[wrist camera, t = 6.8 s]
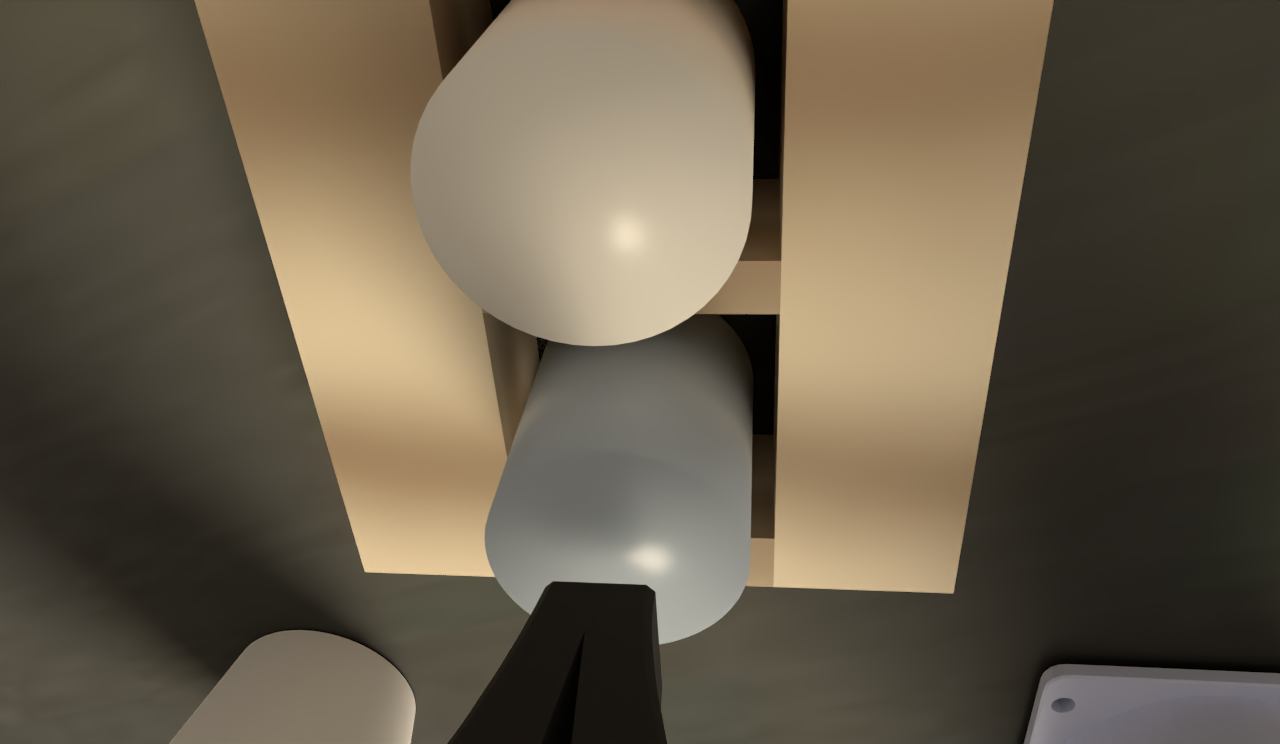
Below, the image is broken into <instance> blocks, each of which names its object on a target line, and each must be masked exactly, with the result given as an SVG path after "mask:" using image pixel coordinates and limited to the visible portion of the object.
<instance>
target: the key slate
mask: <svg viewBox="0 0 1280 744" xmlns="http://www.w3.org/2000/svg"><path fill="white" fill-rule="evenodd" d="M752 435H753V370H752V366H751V362H750V358H749V355H748V353H747V350H746V348H745V346H744V344H743V343H742V341H741V339H740V338H739V336H738V335H737V333H736V332H735V331H734V330H733V328H732V327H731V326H730V325H729V324H728V323H727V322H726V321H725V320H724V319H723V318H722V317H721V316H719V315H718V314H694V315H692V316H691V317H690V318H688V319H687V320H685V321H683V322H682V323H680V324H678V325H676V326H675V327H673V328H671V329H669V330H667V331H664V332H662V333H660V334H657V335H655V336H653V337H649V338H646V339H642V340H639V341H635V342H630V343H624V344H618V345H608V346H583V345H571V344H565V343H560V342H554V341H550V340H548V342H547V344H546V347H545V350H544V353H543V356H542V359H541V361H540V364H539V367H538V370H537V373H536V376H535V379H534V382H533V385H532V388H531V391H530V394H529V397H528V400H527V403H526V406H525V408H524V411H523V414H522V417H521V420H520V423H519V426H518V429H517V432H516V435H515V438H514V441H513V444H512V447H511V450H510V452H509V455H508V458H507V461H506V464H505V467H504V470H503V473H502V476H501V479H500V482H499V485H498V488H497V491H496V494H495V496H494V499H493V502H492V505H491V508H490V511H489V514H488V518H487V522H486V526H485V538H484V540H485V549H486V554H487V558H488V561H489V565H490V567H491V569H492V571H493V573H494V575H495V577H496V579H497V580H498V582H499V583H500V585H501V586H502V588H503V589H504V590H505V591H506V593H507V594H508V595H509V596H510V597H511V599H513V600H514V601H515V602H516V603H517V604H518V605H519V606H520V607H521V608H522V609H524V610H525V611H526V612H528V613H529V614H530V615H531V613H532V611H533V610H534V608H535V606H536V604H537V602H538V600H539V598H540V596H541V594H542V592H543V590H544V589H545V587H546V586H547V585H549V584H550V583H551V582H552V581H562V582H588V583H613V584H639V585H647V586H649V587H650V588H651V589H652V590H654V591H655V593H656V607H657V622H658V636H659V644H663V643H668V642H673V641H676V640H680V639H683V638H686V637H689V636H691V635H694V634H696V633H698V632H700V631H702V630H704V629H706V628H708V627H709V626H711V625H713V624H714V623H715V622H717V621H718V620H719V619H721V618H722V617H723V616H724V615H725V614H726V613H727V612H728V611H729V610H730V609H731V608H732V607H733V606H734V604H735V603H736V602H737V600H738V599H739V597H740V596H741V594H742V592H743V590H744V588H745V586H746V582H747V579H748V575H749V569H750V548H751V491H752Z"/></svg>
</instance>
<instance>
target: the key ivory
mask: <svg viewBox="0 0 1280 744" xmlns="http://www.w3.org/2000/svg"><path fill="white" fill-rule="evenodd" d="M755 79H756V70H755V55H754V50H753V45H752V40H751V36H750V33H749V30H748V27H747V24H746V22H745V19H744V17H743V15H742V13H741V11H740V9H739V7H738V5H737V4H736V2H735V1H734V0H511V1H510V2H509V4H508V5H507V6H506V7H505V8H504V10H503V11H502V12H501V13H500V14H499V15H498V17H497V18H496V19H495V20H494V21H493V22H492V24H491V25H490V26H489V27H488V28H487V30H486V31H485V32H484V33H483V34H482V35H481V37H480V38H479V39H478V40H477V41H476V42H475V44H474V45H473V46H472V47H471V48H470V50H469V51H468V52H467V53H466V54H465V55H464V57H463V58H462V59H461V60H460V61H459V62H458V64H457V65H456V66H455V67H454V68H453V70H452V71H451V72H450V73H449V74H448V75H447V77H446V78H445V79H444V80H443V81H442V82H441V84H440V85H439V87H438V88H437V90H436V91H435V93H434V94H433V96H432V97H431V99H430V100H429V102H428V104H427V106H426V108H425V110H424V112H423V114H422V117H421V119H420V121H419V124H418V128H417V131H416V134H415V138H414V141H413V148H412V155H411V164H410V183H411V190H412V198H413V204H414V208H415V212H416V215H417V219H418V223H419V225H420V228H421V230H422V232H423V235H424V237H425V240H426V242H427V244H428V246H429V247H430V249H431V251H432V253H433V255H434V256H435V258H436V260H437V261H438V263H439V264H440V265H441V267H442V268H443V270H444V271H445V272H446V274H447V275H448V276H449V278H450V279H451V280H452V281H453V282H454V283H455V284H456V285H457V286H458V287H459V288H460V290H461V291H462V292H463V293H464V294H466V295H467V296H468V297H469V298H470V299H471V300H472V301H474V302H475V303H476V304H477V305H478V306H479V307H481V308H482V309H484V310H485V311H487V312H488V313H490V314H491V315H493V316H494V317H495V318H497V319H499V320H501V321H503V322H504V323H506V324H508V325H510V326H512V327H514V328H516V329H518V330H521V331H523V332H526V333H528V334H531V335H533V336H536V337H540V338H543V339H547V340H550V341H554V342H560V343H565V344H571V345H583V346H608V345H618V344H624V343H630V342H635V341H639V340H642V339H646V338H649V337H653V336H655V335H657V334H660V333H662V332H664V331H667V330H669V329H671V328H673V327H675V326H676V325H678V324H680V323H682V322H683V321H685V320H687V319H688V318H690V317H691V316H692V315H694V314H695V313H696V312H697V311H699V310H700V309H701V308H703V307H704V306H705V305H706V304H707V303H708V302H709V301H710V300H711V299H712V298H713V297H714V296H715V295H716V294H717V293H718V291H719V290H720V289H721V287H722V286H723V285H724V283H725V282H726V281H727V279H728V278H729V277H730V275H731V273H732V271H733V269H734V268H735V266H736V264H737V262H738V260H739V258H740V256H741V253H742V250H743V248H744V245H745V242H746V239H747V235H748V230H749V226H750V221H751V210H752V193H753V155H754V117H755Z"/></svg>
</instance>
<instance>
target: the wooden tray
mask: <svg viewBox="0 0 1280 744" xmlns="http://www.w3.org/2000/svg"><path fill="white" fill-rule="evenodd" d="M194 1H195V4H196V7H197V11H198V14H199V17H200V21H201V24H202V27H203V31H204V34H205V38H206V41H207V44H208V48H209V51H210V54H211V58H212V61H213V64H214V68H215V71H216V74H217V78H218V81H219V84H220V88H221V91H222V95H223V98H224V101H225V105H226V108H227V111H228V115H229V118H230V121H231V125H232V128H233V131H234V135H235V138H236V141H237V145H238V148H239V151H240V155H241V158H242V162H243V165H244V168H245V172H246V175H247V178H248V182H249V185H250V188H251V192H252V195H253V198H254V202H255V205H256V208H257V212H258V215H259V219H260V222H261V225H262V229H263V232H264V235H265V239H266V242H267V245H268V249H269V252H270V255H271V259H272V262H273V265H274V269H275V272H276V275H277V279H278V282H279V286H280V289H281V292H282V296H283V299H284V302H285V306H286V309H287V312H288V316H289V319H290V322H291V326H292V329H293V332H294V336H295V339H296V343H297V346H298V349H299V353H300V356H301V359H302V363H303V366H304V369H305V373H306V376H307V379H308V383H309V386H310V389H311V393H312V396H313V400H314V403H315V406H316V410H317V413H318V416H319V420H320V423H321V426H322V430H323V433H324V436H325V440H326V443H327V446H328V450H329V453H330V456H331V460H332V463H333V467H334V470H335V473H336V477H337V480H338V483H339V487H340V490H341V493H342V497H343V500H344V503H345V507H346V510H347V513H348V517H349V520H350V524H351V527H352V530H353V534H354V537H355V540H356V544H357V547H358V550H359V554H360V557H361V560H362V564H363V567H364V570H365V572H376V573H404V574H432V575H459V576H487V577H495V575H494V573H493V571H492V569H491V567H490V565H489V561H488V558H487V554H486V549H485V540H484V538H485V526H486V522H487V518H488V514H489V511H490V508H491V505H492V502H493V499H494V496H495V494H496V491H497V488H498V485H499V482H500V479H501V476H502V473H503V470H504V467H505V464H506V461H507V458H508V455H509V452H510V450H511V447H512V444H513V441H514V438H515V435H516V432H517V429H518V426H519V423H520V420H521V417H522V414H523V411H524V408H525V406H526V403H527V400H528V397H529V394H530V391H531V388H532V385H533V382H534V379H535V376H536V373H537V370H538V367H539V364H540V359H539V352H538V345H537V337H536V336H533V335H531V334H528V333H526V332H523V331H521V330H518V329H516V328H514V327H512V326H510V325H508V324H506V323H504V322H503V321H501V320H499V319H497V318H495V317H494V316H493V315H491V314H490V313H488V312H487V311H485V310H484V309H482V308H481V307H479V306H478V305H477V304H476V303H475V302H474V301H472V300H471V299H470V298H469V297H468V296H467V295H466V294H464V293H463V292H462V291H461V290H460V288H459V287H458V286H457V285H456V284H455V283H454V282H453V281H452V280H451V279H450V278H449V276H448V275H447V274H446V272H445V271H444V270H443V268H442V267H441V265H440V264H439V263H438V261H437V260H436V258H435V256H434V255H433V253H432V251H431V249H430V247H429V246H428V244H427V242H426V240H425V237H424V235H423V232H422V230H421V228H420V225H419V223H418V219H417V215H416V212H415V208H414V204H413V198H412V190H411V183H410V164H411V155H412V148H413V141H414V138H415V134H416V131H417V128H418V124H419V121H420V119H421V117H422V114H423V112H424V110H425V108H426V106H427V104H428V102H429V100H430V99H431V97H432V96H433V94H434V93H435V91H436V90H437V88H438V87H439V85H440V84H441V82H442V81H443V80H444V79H445V78H446V77H447V75H448V74H449V73H450V72H451V71H452V70H453V68H454V67H455V66H456V65H457V64H458V62H459V61H460V60H461V59H462V58H463V57H464V55H465V54H466V53H467V52H468V51H469V50H470V48H471V47H472V46H473V45H474V44H475V42H476V41H477V40H478V39H479V38H480V37H481V35H482V34H483V33H484V32H485V31H486V30H487V28H488V27H489V26H490V25H491V24H492V22H493V17H492V10H491V3H490V0H194ZM1053 2H1054V0H783V22H782V67H781V113H780V159H779V179H753V193H752V210H751V221H750V226H749V230H748V235H747V239H746V242H745V245H744V248H743V250H742V253H741V256H740V258H739V260H738V262H737V264H736V266H735V268H734V269H733V271H732V273H731V275H730V277H729V278H728V279H727V281H726V282H725V283H724V285H723V286H722V287H721V289H720V290H719V291H718V293H717V294H716V295H715V296H714V297H713V298H712V299H711V300H710V301H709V302H708V303H707V304H706V305H705V306H704V307H703V308H701V309H700V310H699V311H697V312H696V313H695V314H776V342H775V388H774V433H773V435H760V434H753V435H752V491H751V548H750V569H749V575H748V579H747V582H746V586H763V587H790V588H818V589H845V590H873V591H900V592H928V593H954V587H955V581H956V575H957V569H958V563H959V558H960V552H961V546H962V540H963V534H964V528H965V522H966V516H967V510H968V504H969V498H970V493H971V487H972V481H973V475H974V469H975V463H976V457H977V451H978V445H979V439H980V433H981V427H982V422H983V416H984V410H985V404H986V398H987V392H988V386H989V380H990V374H991V368H992V362H993V357H994V351H995V345H996V339H997V333H998V327H999V321H1000V315H1001V309H1002V303H1003V297H1004V292H1005V286H1006V280H1007V274H1008V268H1009V262H1010V256H1011V250H1012V244H1013V238H1014V232H1015V227H1016V221H1017V215H1018V209H1019V203H1020V197H1021V191H1022V185H1023V179H1024V173H1025V167H1026V162H1027V156H1028V150H1029V144H1030V138H1031V132H1032V126H1033V120H1034V114H1035V108H1036V102H1037V97H1038V91H1039V85H1040V79H1041V73H1042V67H1043V61H1044V55H1045V49H1046V43H1047V37H1048V32H1049V26H1050V20H1051V14H1052V8H1053Z"/></svg>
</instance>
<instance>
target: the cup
mask: <svg viewBox="0 0 1280 744" xmlns="http://www.w3.org/2000/svg"><path fill="white" fill-rule="evenodd" d="M415 709H416V706H415V699H414V695H413V692H412V690H411V688H410V686H409V684H408V683H407V681H406V680H405V678H404V677H403V675H402V674H401V673H400V672H399V671H398V670H397V669H396V668H395V667H394V666H393V665H392V664H391V663H390V662H388V661H387V660H386V659H385V658H383V657H382V656H380V655H379V654H377V653H376V652H374V651H372V650H371V649H369V648H367V647H365V646H363V645H361V644H359V643H357V642H354V641H352V640H349V639H346V638H343V637H340V636H337V635H333V634H329V633H324V632H318V631H310V630H289V631H281V632H276V633H272V634H269V635H266V636H263V637H261V638H259V639H257V640H256V641H254V642H253V643H251V644H250V645H249V646H248V647H247V648H246V649H245V650H244V651H243V652H242V654H241V655H240V656H239V657H238V659H237V660H236V661H235V662H234V664H233V665H232V666H231V667H230V668H229V670H228V671H227V672H226V673H225V675H224V676H223V677H222V678H221V680H220V681H219V682H218V683H217V685H216V686H215V687H214V688H213V690H212V691H211V692H210V693H209V694H208V696H207V697H206V698H205V699H204V701H203V702H202V703H201V704H200V706H199V707H198V708H197V709H196V711H195V712H194V713H193V714H192V716H191V717H190V718H189V719H188V720H187V722H186V723H185V724H184V725H183V727H182V728H181V729H180V730H179V732H178V733H177V734H176V735H175V737H174V738H173V739H172V740H171V742H170V743H169V744H410V743H411V737H412V730H413V724H414V718H415Z"/></svg>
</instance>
